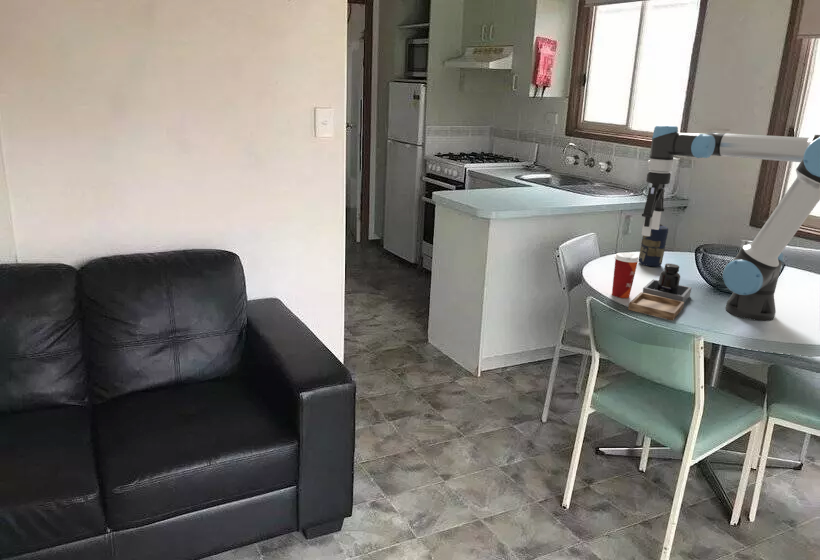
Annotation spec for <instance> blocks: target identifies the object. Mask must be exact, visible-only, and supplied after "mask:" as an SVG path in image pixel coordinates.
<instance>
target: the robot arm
mask: <svg viewBox="0 0 820 560" xmlns="http://www.w3.org/2000/svg"><path fill="white" fill-rule="evenodd" d="M649 154H650V155H649V160H647V164H648V167H647V169H648V170H649V171H647V173H646V180H645V181H646V183H648V184H652V185H651V187H650V186H649V187H648V193H647V197H646V201H645V205H644V209H643V213H641V217H643V222H642V229H641V236H642V237H643V236H650V233H651V229H655V230H659V225H660V224H661V217H662V212H664V211H665V208H664V203H665V201H664V200H665V199H664V198H665V186H666V185H669V184H670V181H671V176H672V174H671V173H670V172H671V171H673V163H674V157H675V156H681V157H689V158H697V159H703V158H704V159H708V158H710V157H711V156H713V157H728V158H739V159H740V158H743V159H754V160H755V159H756V160H764V161H765V160H767V161H779V162H780V161H781V162H791V163H799V164H798V166H797V167H796V169H795V171H796V176H797V177H796V178H795V180H794V181H793V182H792V184H791V186H790V187H789V189H788V190H787V191H786V193H785V194H784V196H783V197H782V198H781V200H780V201H779V202H778V204H777V205H776V207H775V209H774V210H773V212H772V213H771V214H770V216H769V217H768V218H767V220H766V221H765V223H764V224H763V226H762V227H761V229H760V230H759V232H758V233H757V234H756V236H755V237H754V239H753V240H752V242H751V243H747V244H744V245H743V246H742V247H741V249H740V250H739V251H738V253H737V255H735V257H734V258H733V260H731V261H729V262H728V263H727V264H726V266H725V267H724V268H723V272H722V280H723V282H724V285H725V287H726V288H727V289H729V291H731V292H732V294H731V295H730V296H729V298H728V299H727V301H726V304H725V310H726V312H728V313H730V314H732V315H734V316H736V317H739V318H743V319H745V320H746V319H747V320H750V321H758V322H760V321H761V322H763V321H764V322H766V321H767V322H769V321H773V320H774V319H775V318H776V312H777V311H776V303H775V291H776V288H777V285H778V281H779V278H780V277H779V276H780V272H781V268H782V264H783V262H784V253H783V251H784V249H785V248H786V247H787V245H788V244H789V243H790V242H791V240H792V239H793V238H794V236H795V235H796V233H797V232H798V231H799V229H800V227H802V225H803V224H804V222H805V221H806V219H807V218H808V217H809V216H810V214H811V213H812V211H813V210H814V208H815V207H816V205H818V203H819V202H820V134H814V135H813V136H811V137H802V136H801V137H799V136H782V135H781V136H780V135H766V134H765V135H763V134H762V135H761V134H743V133H742V134H741V133H726V132H725V133H723V132H715V131H709V132H697V133H695V132H694V133H692V132H680V131H679V127H678V126H677V125H671V124H670V125H669V124H658V125H656V126H655V127H654V129H653V134H652V138H651V144H650V153H649Z"/></svg>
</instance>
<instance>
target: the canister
mask: <svg viewBox="0 0 820 560" xmlns="http://www.w3.org/2000/svg"><path fill="white" fill-rule="evenodd" d="M668 234H669V228H668V227H667V226H665V225H663V224H661V223H660V225H659V230H655V229H651V233H650V236H643V235H642V238H641V242H640V249H639V255H638V259H639V262H638V263H639V264H640V265H643V266H647V267H652V268H654V267H657V268H658V267H660V266H662V263H663V259H664V254H665V251H666V244H667V239H668Z"/></svg>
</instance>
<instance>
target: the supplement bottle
mask: <svg viewBox="0 0 820 560" xmlns="http://www.w3.org/2000/svg"><path fill="white" fill-rule="evenodd" d="M679 271H680V265H678V264H675V263H665V264H664V270H662V271H660V273H659V277H658V280H659V282H658V287H657V290H658V291H662V292H667V293H671V294H676V295H677V290H678V286H679V285H680V281H681V274H680V273H679Z"/></svg>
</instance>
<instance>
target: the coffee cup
mask: <svg viewBox="0 0 820 560" xmlns="http://www.w3.org/2000/svg"><path fill="white" fill-rule="evenodd" d="M614 259H615V260H614V268H613V280H612V291H611V295H612V296H614V298H620V299H628V298H630V295H631V291H632V287H633V283H634V279H635V274H636V271H637V266H638V263H639V255H637V254H635V253H630V252H617V253H616V255H615V256H614Z"/></svg>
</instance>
